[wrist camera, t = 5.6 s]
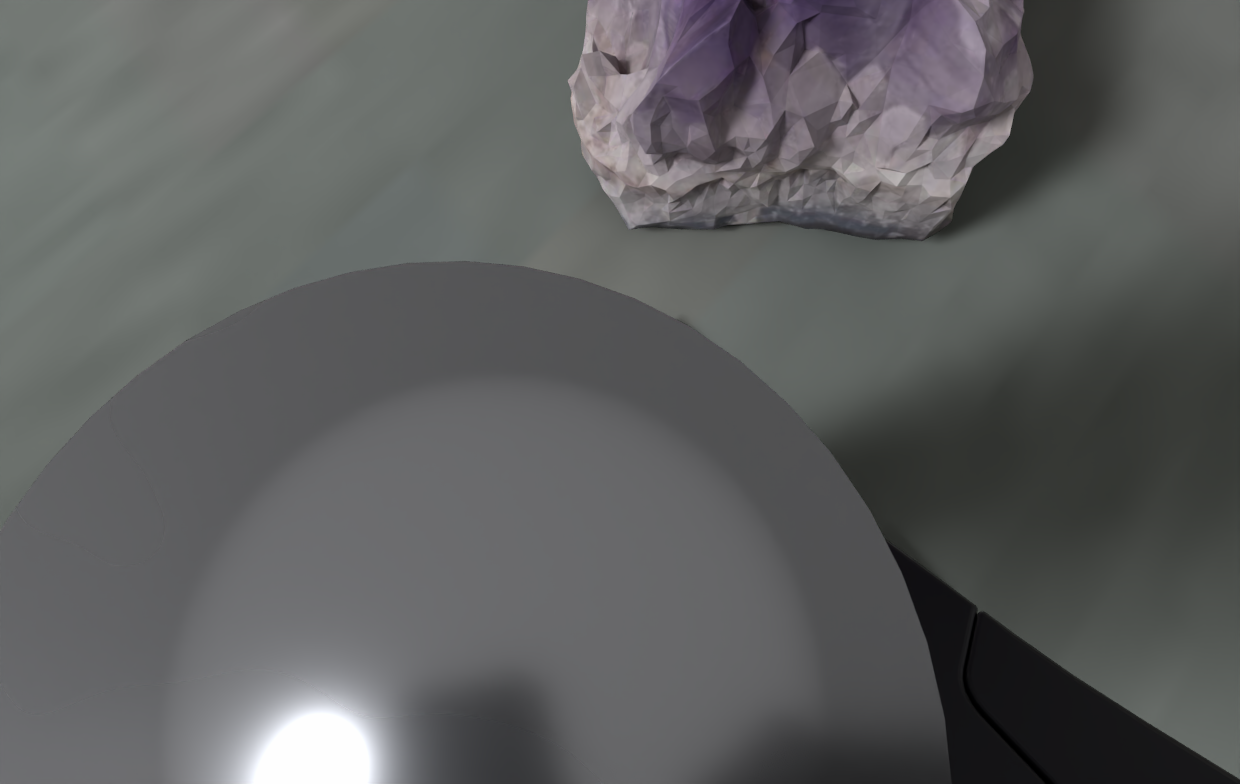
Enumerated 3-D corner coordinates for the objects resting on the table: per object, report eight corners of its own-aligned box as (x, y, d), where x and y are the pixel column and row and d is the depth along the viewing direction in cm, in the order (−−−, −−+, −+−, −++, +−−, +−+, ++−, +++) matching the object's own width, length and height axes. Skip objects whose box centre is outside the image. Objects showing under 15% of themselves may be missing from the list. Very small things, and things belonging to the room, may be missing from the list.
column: (758, 606, 14) (1239, 824, 2) (619, 738, 13) (270, 1889, 2) (634, 469, 15) (486, 73, 3) (500, 589, 14) (-293, 691, 3)
